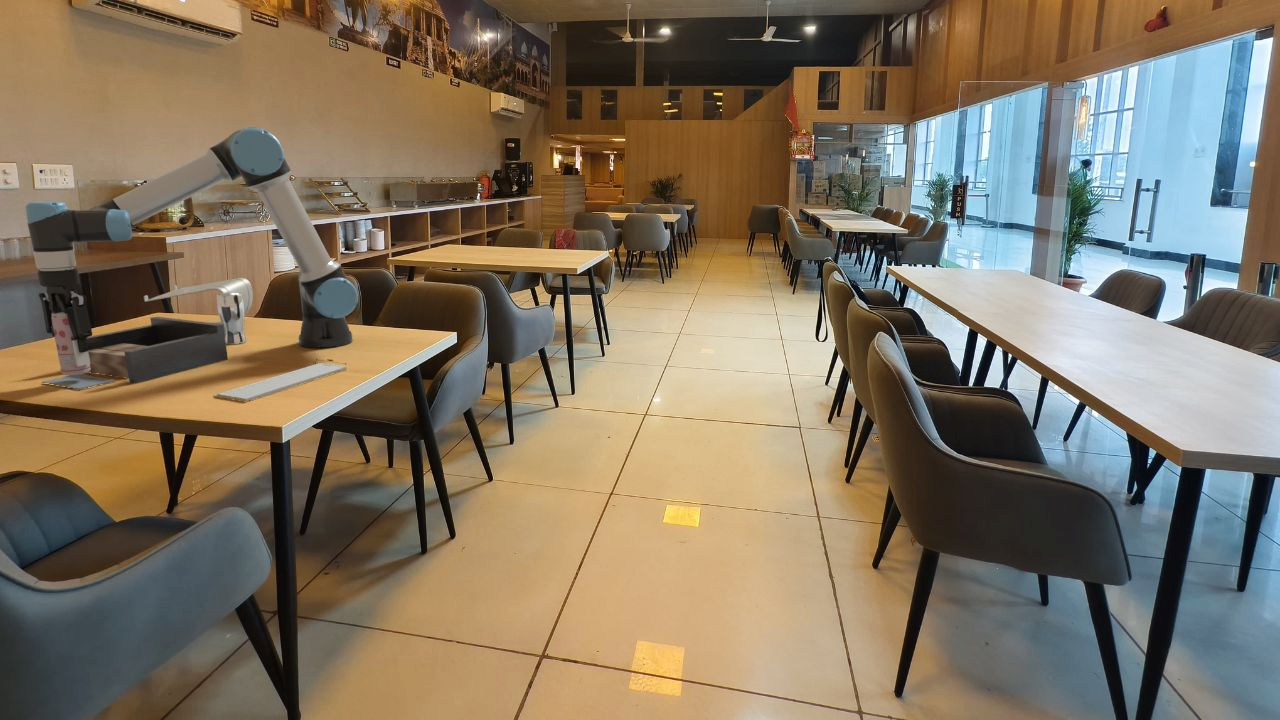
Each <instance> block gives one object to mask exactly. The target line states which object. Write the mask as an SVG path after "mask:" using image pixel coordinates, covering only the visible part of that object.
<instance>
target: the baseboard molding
mask: <svg viewBox="0 0 1280 720" xmlns="http://www.w3.org/2000/svg"><path fill="white" fill-rule="evenodd" d="M315 360H316V361H315ZM315 360H314V361H312V363H313V365H309V366H305V367H302V368H299V369H295V370H293V371H290V372H285V373H283V374H279V375H276V376H272V377H269V378H266V379H263V380H260V381H256V382H253V383H250V384H246V385H243V386H239V387H236V388H233V389H229V390H226V391H223V392H219V393H217V394H214V395H213V396H215V397H214V398H218V397H221V398H220V399H224V398H227V399H226V400H230V399H234V400H233V401H235V400H240V401H239V402H241V401H249V400H252V401H254V400H253V399H255V400H257V399H256V398H258V399H260V398H259V397H261V398H263V397H262V396H264V397H267V396H270V395H273V394H276V393H275V392H277V393H279V392H278V391H280V392H282V391H281V390H283V391H285V390H284V389H286V390H288V389H287V388H289V389H291V388H290V387H292V388H294V387H293V386H295V385H298V386H300V385H299V384H301V383H304V382H307V381H311V380H314V379H316V378H320V377H323V376H326V375H329V376H331V375H330V374H332V373H335V374H337V373H336V372H338V373H340V372H339V371H342V370H345V371H347V370H346V369H348V367H347V366H346V365H347V363H346V362H345V363H343V362H342V363H341V364H344V365H337V364H338V362H336V361H334V363H336V364H332V363H331V362H333V359H326V362H329V363H331V364H328V363H323V362H324V360H323V359H321V360H320V361H323V362H320V363H316V362H317V361H318V358H316V359H315ZM342 372H343V371H342ZM332 375H333V374H332ZM326 377H327V376H326ZM323 378H324V377H323ZM320 379H321V378H320ZM314 381H315V380H314ZM311 382H312V381H311ZM304 384H305V383H304ZM301 385H302V384H301ZM295 387H296V386H295ZM272 393H273V394H272ZM269 394H270V395H269ZM266 395H267V396H266ZM249 402H250V401H249Z"/></svg>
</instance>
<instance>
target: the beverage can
mask: <svg viewBox="0 0 1280 720" xmlns="http://www.w3.org/2000/svg"><path fill="white" fill-rule="evenodd" d="M51 315H52V317H51V318H52V324H53V329H54V334H55V337H54V341H55V340H56V342H55V346H56V345H57V347H56V351H57V350H58V352H57V356H59V357H58V361H60V363H59V365H60V372H61V374H63V375H64V376H69V375H80V374H81V375H85V374H87V373H88V374H89V371H90V370H91V368H90V364H87V365H83V366H77V365H76V360H75V355H74V349H73V344H72V340H71V338H74V336H73V334H72V331H71V328H70V326H69V322H68V318H67V314H65V313H64V312H61V313H52V314H51Z"/></svg>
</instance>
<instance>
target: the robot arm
mask: <svg viewBox="0 0 1280 720" xmlns="http://www.w3.org/2000/svg"><path fill="white" fill-rule="evenodd" d="M284 154H285V153H284V149H283V146H282V144H281V142H280V141H279V139H278V138H277V137H276V136H275V135H274V134H272V133H271V132H269V131H268V130H265V129H264V128H260V127H255V126H254V127H253V126H252V127H251V126H248V127H246V128H242V129H239V130H236V131H234V132H232V134H230V135H229V136H228V137H226V138H225V139H223V140H222V141H221V142H220V141H219V142H218V143H217V144H216V145H214V146H211V147H209V148H208V149H207V151H206V154H205V155H203V156H200V157H198V158H196V159H193V160H192V161H189V162H187V163H185V164H183V165H181V166H179V167H176V168H175V169H172V170H171V171H168V172H167V173H165V174H163V175H160V176H158V177H156V178H154V179H152V180H150V181H148V182H144V183H143V184H141V185H139V186H137V187H135V188H133V189H132V190H130V191H127V192H125V193H122V194H120V195H119V196H116V197H114V198H112V199H111V200H108V201H106V202H103V203H102V204H100V205H98V206H94V207H92V208H89V209H83V210H82V209H81V210H79V209H78V210H76V209H68V207H67V205H66V203H65V202H64V201H31V202H29V203H27V204H26V205H25V213H26V220H27V222H26V224H27V226H28V231H29V232H28V233H29V237H30V241H31V246H32V251H33V252H32V253H33V257H34V263H35V267H36V268H37V269H39V270H37V273H36V274H37V278H38V282H39V285H40V287H44V288H46V292H40V293H38V297H39V300H40V302H41V307H42V308H41V309H42V313H43V318H44V319H43V320H44V324H45V325H44V326H45V329H46V330H45V331H46V333H47V334H51V336H52V337H53V338H55V334H54V329H53V324H52V318H51V317H52V315H51V314H52V313H61V312H64V313H65V314H67V318H68V322H69V326H70V328H71V331H72V334H73V336H74V338H71V340H72V344H73V349H74V355H75V360H76V365H77V366H83V365H87V364H90V359H89V353H88V346H87V341H86V338H87V337H89V336H93V329H92V325H91V321H90V315H89V310H88V307H87V304H88V303H87V301H88V298H87V296H86V295H79V294H78V291H77V289H76V286H77V285H79V284H80V276H79V271H78V269H77V268H75V267H76V266H77V261H76V253H75V251H74V250H75V248H74V243H83V242H84V243H88V242H89V243H92V242H94V243H95V242H99V243H101V242H115V243H116V242H121V241H122V242H123V241H130V240H131V239H133V230H132V227H133V226H135V225H137V224H139V223H141V222H143V221H144V220H146V219H149V218H150V217H153V216H155V215H156V214H159V213H161V212H163V211H165V210H168V209H170V208H171V207H172V206H175V205H177V204H180V203H181V202H183V201H185V200H187V199H190V198H191V197H193V196H195V195H198V194H200V193H202V192H203V191H206V190H208V189H210V188H212V187H214V186H216V185H218V184H220V183H222V182H223V181H227V182H234V181H235V180H237V179H239V178H242V179H243V182H244V183H245V185H246V187H247V189H250V190H253V191H254V192H256V193H257V194H258V196H259V198H260V199H261V201H262V203H263V205H264V207H265V209H266V211H267V212H268V214H269V216H270V219H272V221H273V223H274V226H276V229H277V231H278V233H279V234H280V236H281V238H282V240H283V241H284V242H285V243H284V244H285V245H286V246H287V249H288V251H289V252H290V255H291V256H292V257H293V258H292V259H294V261H295V263H296V265H297V267H298V268H299V269H298V270H299V271H298V279H297V281H298V283H299V293H300V294H299V295H300V302H301V303H300V304H301V309H302V310H301V312H302V323H301V327H300V334H299V335H298V344H299V346H300V345H301V347H303V346H305V348H310V347H319V348H318V349H320V347H323V349H324V347H325V348H333V347H334V346H335V347H340V346H344V345H348V344H351V343H352V342H353V340H354V339H353V333H352V331H351V330H350V327H349V325H348V322H347V319H346V316H348V315H349V314H351V313H352V312H353V311H354V310H355V308H356V307H357V304H358V301H359V295H358V291H357V288H356V287H355V285H354V284H353V282H352V281H350V280H349V279H348V277H347V275H346V274H345V272H344V270H343V267H342V266H341V264H340V263H339V262H336V261H334V260H333V259H331V256H330V255H329V253H328V252H327V249H326V247H325V245H324V244H323V242H322V240H321V238H320V236H319V234H318V232H317V230H316V229H315V226H314V225H313V223H312V221H311V219H310V217H309V215H308V213H307V211H306V209H305V207H304V206H303V203H302V202H301V200H300V198H299V196H298V194H297V192H296V190H295V189H294V186H293V185H292V183H291V181H290V177H291V174H292V170H291V169H290V166H289V164H288V162H287V160H286V158H285V155H284ZM54 342H55V343H56V340H55V339H54ZM55 346H56V348H57V345H56V344H55ZM56 352H57V353H58V350H57V349H56ZM57 356H58V355H57ZM58 358H59V356H58ZM58 361H59V360H58ZM59 364H60V361H59Z"/></svg>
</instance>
